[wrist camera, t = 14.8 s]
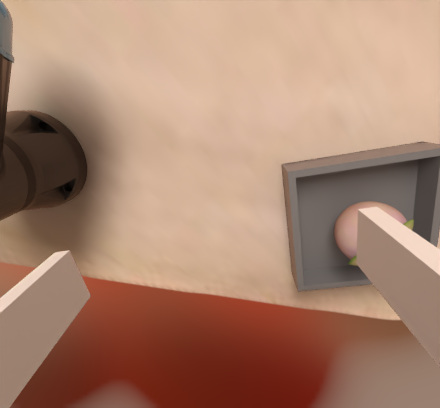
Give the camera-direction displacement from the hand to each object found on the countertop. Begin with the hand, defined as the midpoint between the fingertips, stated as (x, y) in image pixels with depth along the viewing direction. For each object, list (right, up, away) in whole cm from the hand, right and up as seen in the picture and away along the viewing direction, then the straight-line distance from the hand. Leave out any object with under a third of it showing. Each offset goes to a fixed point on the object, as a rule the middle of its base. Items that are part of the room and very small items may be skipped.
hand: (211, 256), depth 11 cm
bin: (+21, +1, +29) cm, 36 cm away
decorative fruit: (+21, 0, +28) cm, 35 cm away
